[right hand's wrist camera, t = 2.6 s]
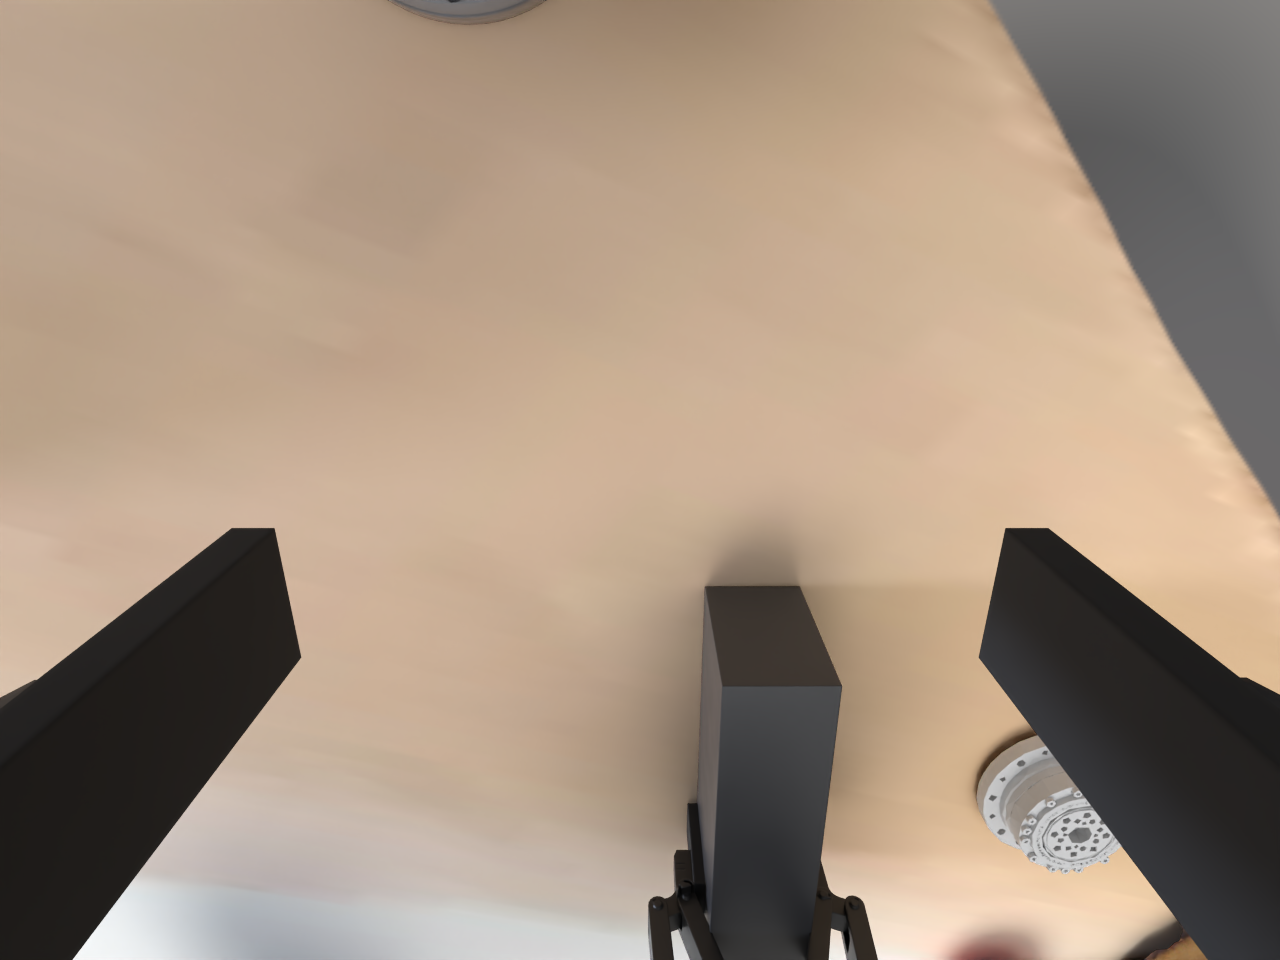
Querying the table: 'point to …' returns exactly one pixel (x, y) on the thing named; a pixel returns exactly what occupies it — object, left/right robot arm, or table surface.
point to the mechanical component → (1042, 810)
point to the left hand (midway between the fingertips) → (738, 818)
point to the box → (763, 768)
